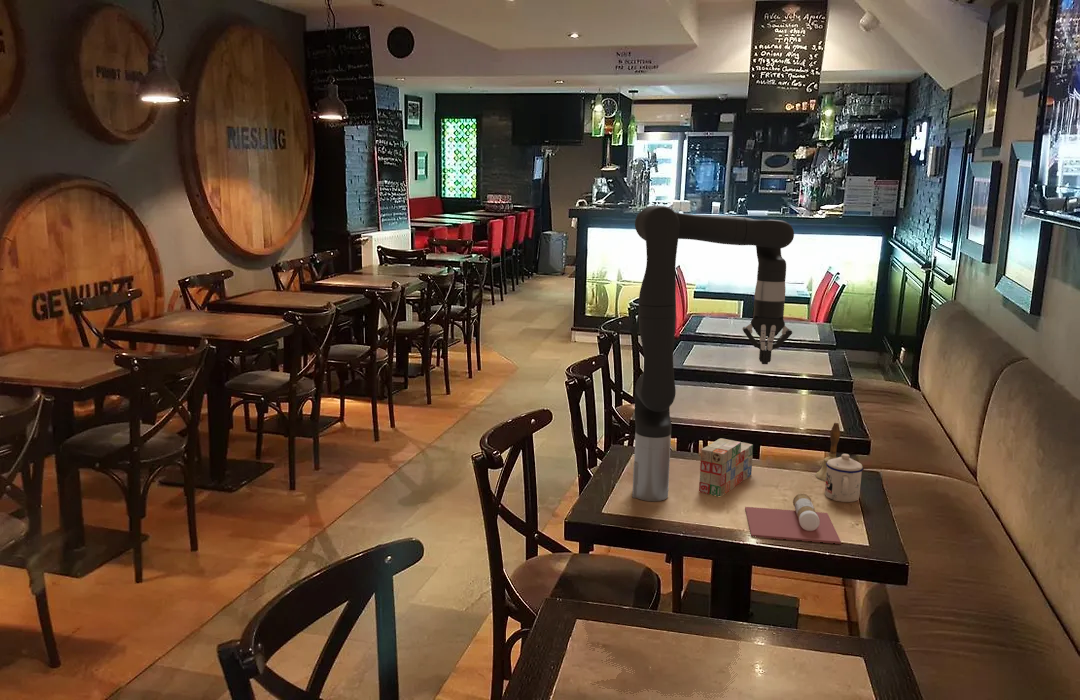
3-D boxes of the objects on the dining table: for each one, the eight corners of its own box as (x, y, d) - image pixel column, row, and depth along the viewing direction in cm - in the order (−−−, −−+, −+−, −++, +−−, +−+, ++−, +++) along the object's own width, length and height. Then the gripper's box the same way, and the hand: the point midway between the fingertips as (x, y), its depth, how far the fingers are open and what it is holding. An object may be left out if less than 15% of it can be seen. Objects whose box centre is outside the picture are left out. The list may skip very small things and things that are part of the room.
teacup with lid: (822, 488, 219) (826, 447, 217) (858, 492, 217) (862, 451, 214) (825, 504, 208) (829, 461, 206) (862, 509, 205) (867, 465, 203)
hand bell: (820, 470, 234) (825, 417, 230) (849, 476, 229) (855, 422, 226) (811, 478, 227) (816, 424, 224) (841, 485, 222) (846, 429, 219)
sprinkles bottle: (807, 512, 203) (816, 534, 190) (789, 506, 203) (797, 528, 190) (813, 495, 202) (822, 516, 189) (795, 490, 202) (803, 510, 189)
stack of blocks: (730, 470, 232) (733, 429, 230) (751, 475, 229) (754, 434, 226) (698, 492, 215) (700, 448, 213) (720, 497, 212) (723, 453, 209)
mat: (751, 536, 188) (751, 534, 188) (745, 508, 204) (745, 506, 204) (840, 544, 185) (840, 541, 185) (827, 515, 201) (827, 512, 201)
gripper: (744, 299, 205) (739, 365, 208) (798, 301, 203) (792, 368, 206) (742, 295, 212) (737, 359, 216) (794, 297, 210) (788, 362, 214)
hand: (764, 363), depth 211 cm, fingers closed
